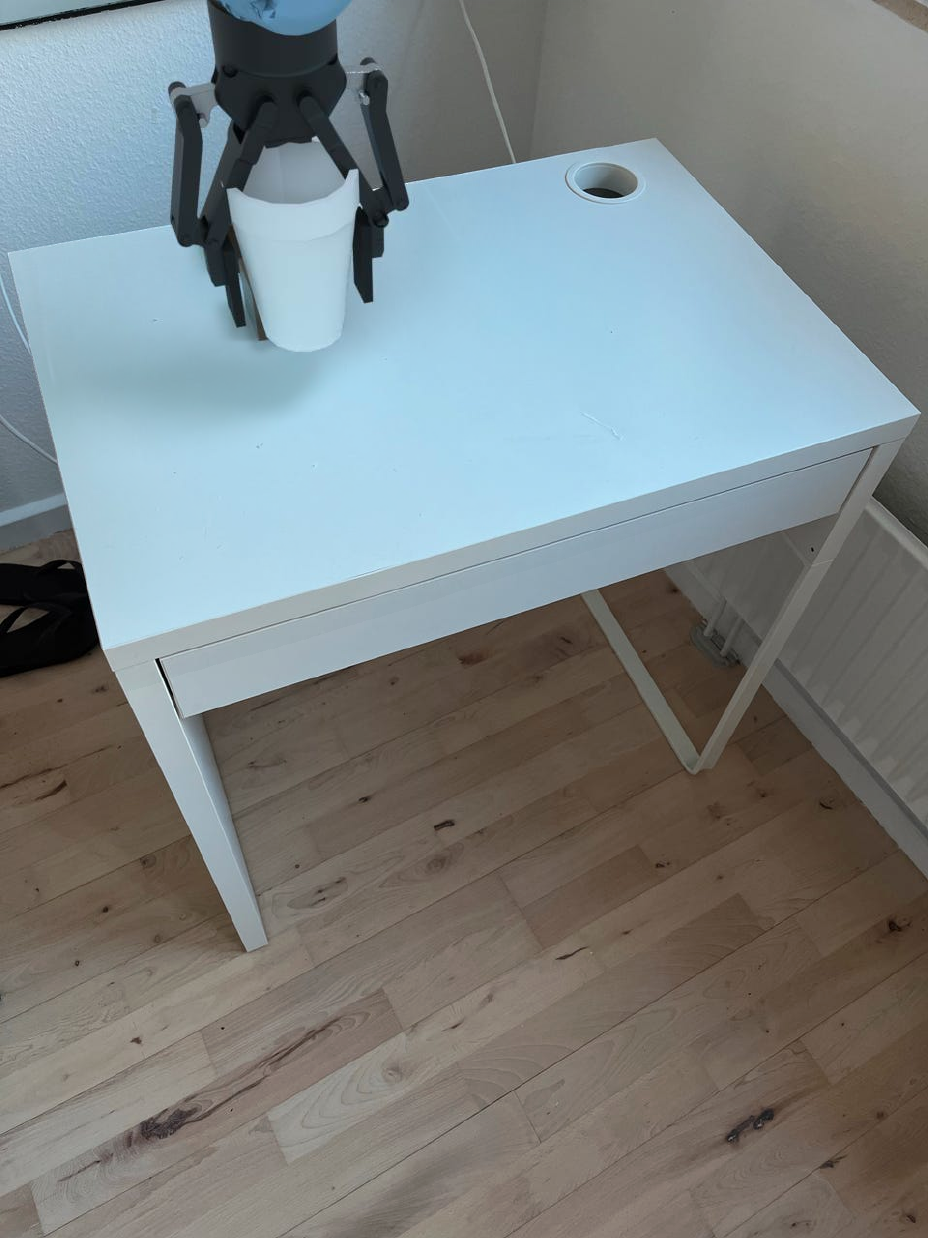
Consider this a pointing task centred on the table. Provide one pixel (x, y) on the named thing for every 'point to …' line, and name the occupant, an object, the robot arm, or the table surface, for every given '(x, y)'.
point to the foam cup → (297, 242)
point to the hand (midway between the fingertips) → (301, 303)
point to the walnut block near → (251, 302)
